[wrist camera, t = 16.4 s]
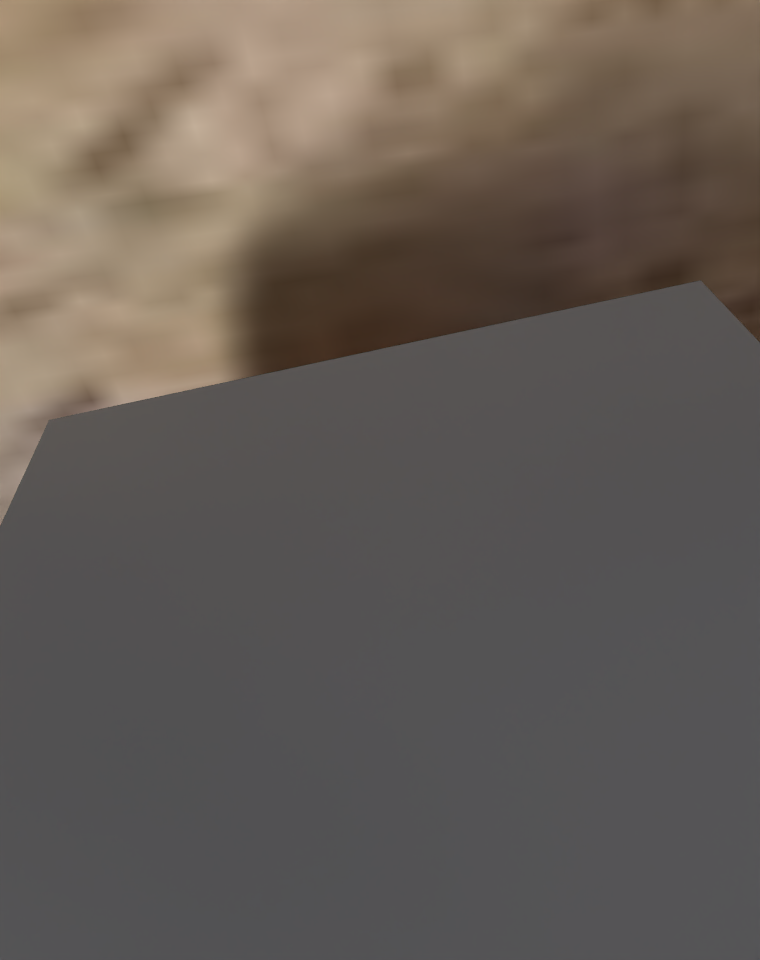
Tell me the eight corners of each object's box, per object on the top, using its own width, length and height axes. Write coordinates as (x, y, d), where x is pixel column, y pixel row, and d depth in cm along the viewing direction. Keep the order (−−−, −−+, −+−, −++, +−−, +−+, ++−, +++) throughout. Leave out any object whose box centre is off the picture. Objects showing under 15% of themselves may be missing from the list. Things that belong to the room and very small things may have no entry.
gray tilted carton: (49, 419, 9) (-427, 1452, 3) (700, 280, 8) (1674, 1305, 2) (263, 679, 17) (238, 1137, 11) (620, 618, 16) (810, 1076, 10)
